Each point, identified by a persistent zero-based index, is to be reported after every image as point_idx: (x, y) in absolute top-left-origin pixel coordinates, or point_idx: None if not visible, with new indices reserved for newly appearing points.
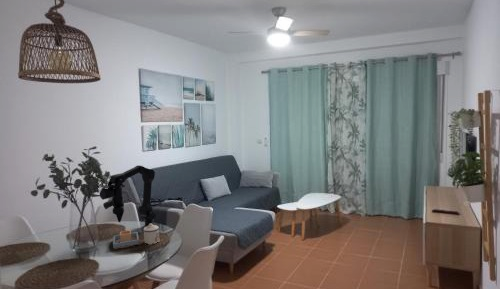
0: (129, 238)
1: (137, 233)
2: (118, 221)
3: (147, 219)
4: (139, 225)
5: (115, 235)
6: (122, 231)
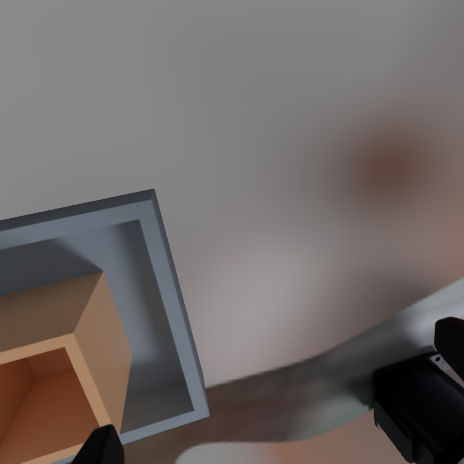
0: (4, 410)
1: (164, 427)
2: (79, 451)
3: (432, 458)
4: (461, 312)
5: (154, 219)
6: (73, 363)
